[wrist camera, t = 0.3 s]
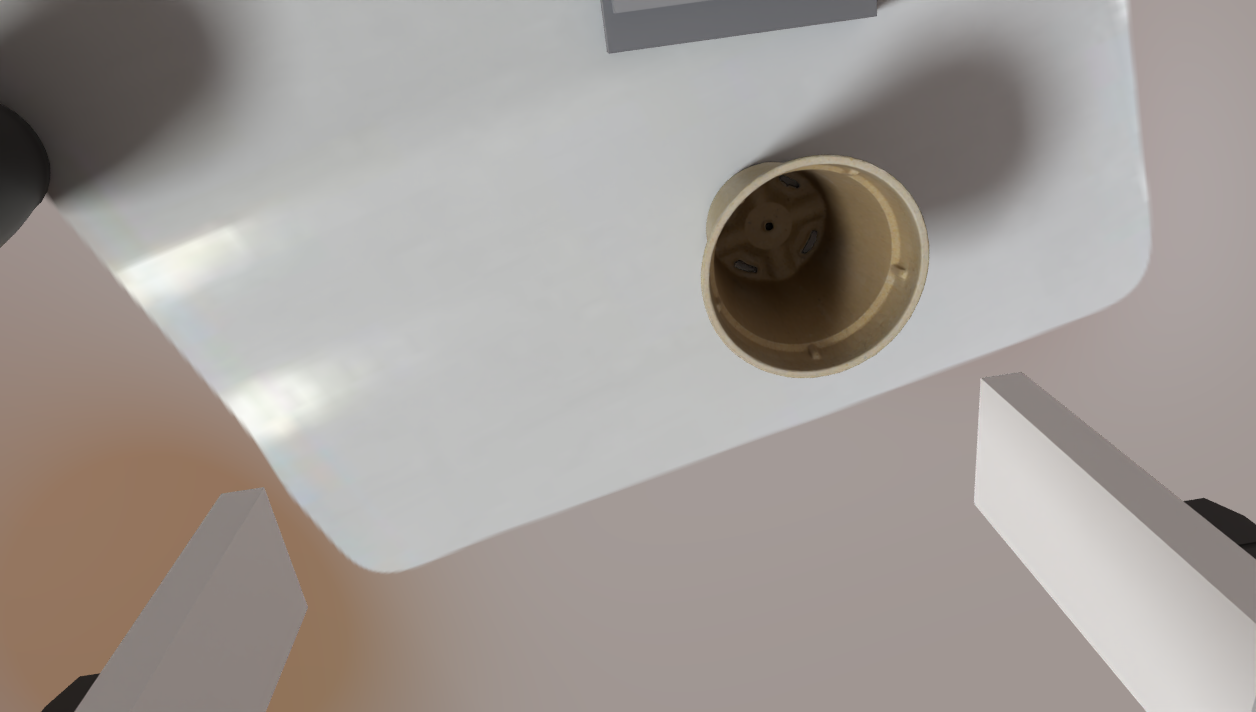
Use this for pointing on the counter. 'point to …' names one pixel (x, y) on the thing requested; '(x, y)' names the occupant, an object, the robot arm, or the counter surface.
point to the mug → (19, 172)
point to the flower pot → (813, 264)
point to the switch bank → (715, 19)
